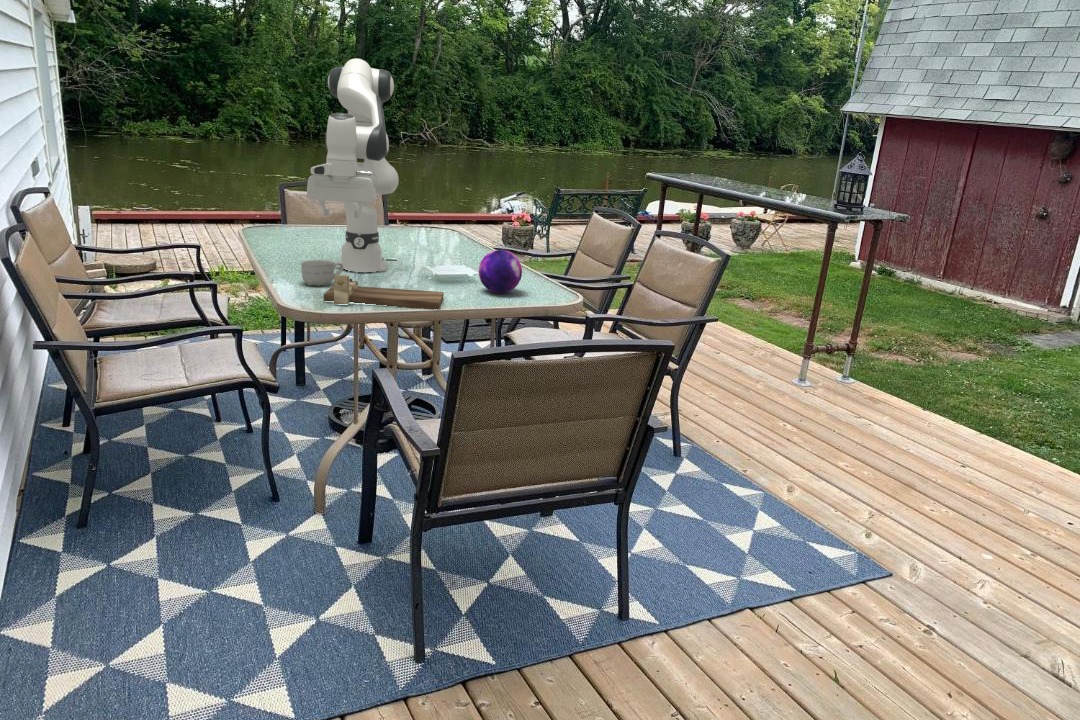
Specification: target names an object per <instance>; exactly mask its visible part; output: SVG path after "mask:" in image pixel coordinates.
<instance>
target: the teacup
mask: <svg viewBox="0 0 1080 720" xmlns="http://www.w3.org/2000/svg"><path fill="white" fill-rule="evenodd" d="M300 264H301V277H302V280H303V281H304V282H305V283H306V284H307V285H308V284H310V285H309V286H311V285H318V286H317V287H321V286H320V285H325V286H328V285H329V284H330V283H331V282H332V281H334V276H335V275H341V273H342V272H343V271H344V270H343V264H342V263H341V261H333V260H326V259H309V260H303V261H301V262H300ZM337 265H340V268H339V270H338V271H337V272H334V271H335V267H337ZM327 284H328V285H327Z"/></svg>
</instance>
